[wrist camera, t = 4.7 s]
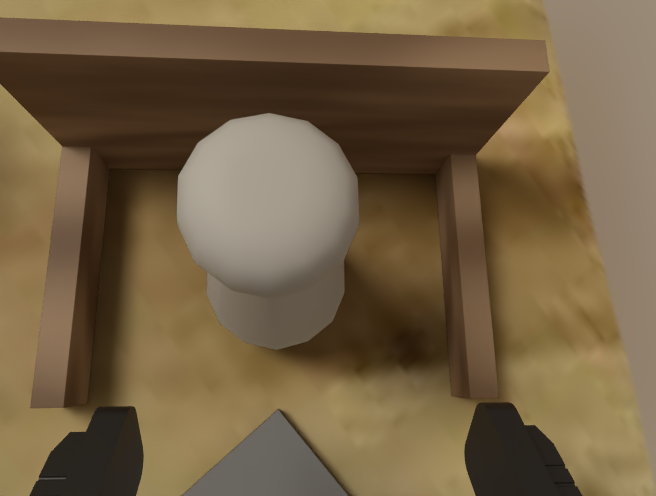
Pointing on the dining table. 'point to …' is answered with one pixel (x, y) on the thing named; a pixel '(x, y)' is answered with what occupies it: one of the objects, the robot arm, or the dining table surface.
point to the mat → (269, 466)
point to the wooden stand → (249, 100)
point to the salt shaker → (270, 226)
